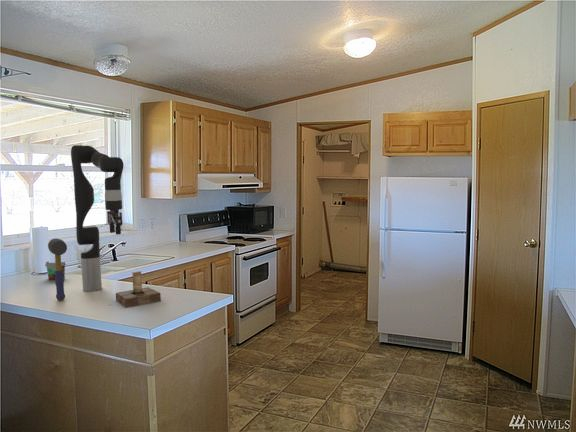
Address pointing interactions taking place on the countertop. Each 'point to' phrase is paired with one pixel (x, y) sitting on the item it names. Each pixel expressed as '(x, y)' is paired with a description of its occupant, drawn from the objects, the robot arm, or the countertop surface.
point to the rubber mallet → (58, 265)
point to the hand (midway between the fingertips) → (115, 233)
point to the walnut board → (138, 297)
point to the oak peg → (137, 282)
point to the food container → (54, 269)
